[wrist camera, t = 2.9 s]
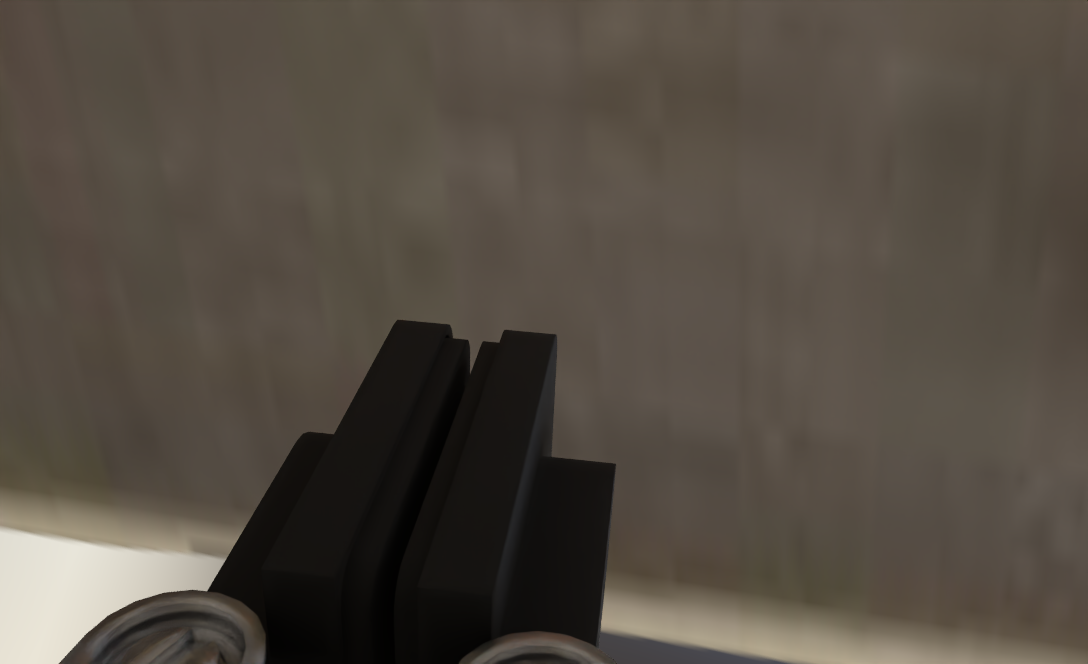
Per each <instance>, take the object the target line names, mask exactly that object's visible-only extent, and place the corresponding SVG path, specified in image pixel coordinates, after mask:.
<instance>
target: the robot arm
mask: <svg viewBox="0 0 1088 664" xmlns="http://www.w3.org/2000/svg"><path fill="white" fill-rule="evenodd" d="M556 359H557V336H556V335H555V334H544V333H534V332H523V331H512V330H504V332H503V334H502V337H501V340H500V343H496V342H485V341H484V342H483V343H482V344H481V347H480V350H479V352H478V355H477V358H476V361H475V363H474V366H473V369H472V371H471V374H470V345H469V341H468V340H464V339H454V338H453V335H452V329H451V326H450V325H448V324H438V323H427V322H416V321H406V320H397V321H396V322H395V324H394V325H393V327H392V329H391V331H390V333H389V334H388V336H387V338H386V340H385V342H384V344H383V345H382V347H381V349H380V351H379V353H378V355H377V356H376V358H375V360H374V362H373V364H372V366H371V367H370V369H369V371H368V373H367V375H366V377H365V378H364V380H363V382H362V384H361V386H360V388H359V389H358V391H357V393H356V395H355V397H354V399H353V400H352V402H351V404H350V406H349V408H348V410H347V412H346V413H345V415H344V417H343V419H342V421H341V423H340V424H339V426H338V428H337V430H336V432H335V434H325V433H316V432H307V433H304V434H302V435H301V437H300V438H299V439H298V440H297V442H296V443H295V445H294V446H293V448H292V450H291V451H290V453H289V455H288V457H287V458H286V460H285V462H284V463H283V465H282V467H281V468H280V470H279V472H278V473H277V475H276V477H275V478H274V480H273V482H272V483H271V485H270V487H269V488H268V490H267V492H266V493H265V495H264V497H263V498H262V500H261V502H260V504H259V505H258V507H257V509H256V510H255V512H254V514H253V515H252V517H251V519H250V520H249V522H248V524H247V525H246V527H245V529H244V530H243V532H242V534H241V535H240V537H239V539H238V540H237V542H236V544H235V545H234V547H233V549H232V550H231V552H230V554H229V556H228V557H227V559H226V561H225V562H224V564H223V566H222V567H221V569H220V571H219V572H218V574H217V576H216V577H215V579H214V581H213V582H212V584H211V586H210V587H209V589H208V591H198V590H188V591H177V592H167V593H162V594H158V595H155V596H152V597H149V598H145V599H142V600H139V601H135V602H133V603H131V604H129V605H128V606H126V607H124V608H122V609H120V610H118V611H116V612H114V613H112V614H110V615H109V616H107V617H106V618H105V619H104V620H103V621H101V622H100V623H99V624H98V625H97V626H95V627H94V628H93V629H92V630H91V631H89V632H88V633H87V634H86V635H85V636H84V637H83V638H82V639H81V640H80V641H79V642H78V644H77V645H76V646H75V647H74V648H73V649H72V650H71V651H70V652H69V653H68V654H67V655H66V656H65V658H64V659H63V660H62V661H61V662H60V663H59V664H617V663H616V662H615V661H614V659H612V658H611V657H609V656H608V655H606V654H605V653H603V652H602V651H601V650H599V649H598V648H599V638H600V628H601V619H602V609H603V599H604V589H605V579H606V569H607V558H608V547H609V537H610V526H611V515H612V503H613V492H614V481H615V469H616V464H613V463H603V462H593V461H584V460H574V459H565V458H555V457H551V452H552V433H553V414H554V396H555V377H556Z"/></svg>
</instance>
